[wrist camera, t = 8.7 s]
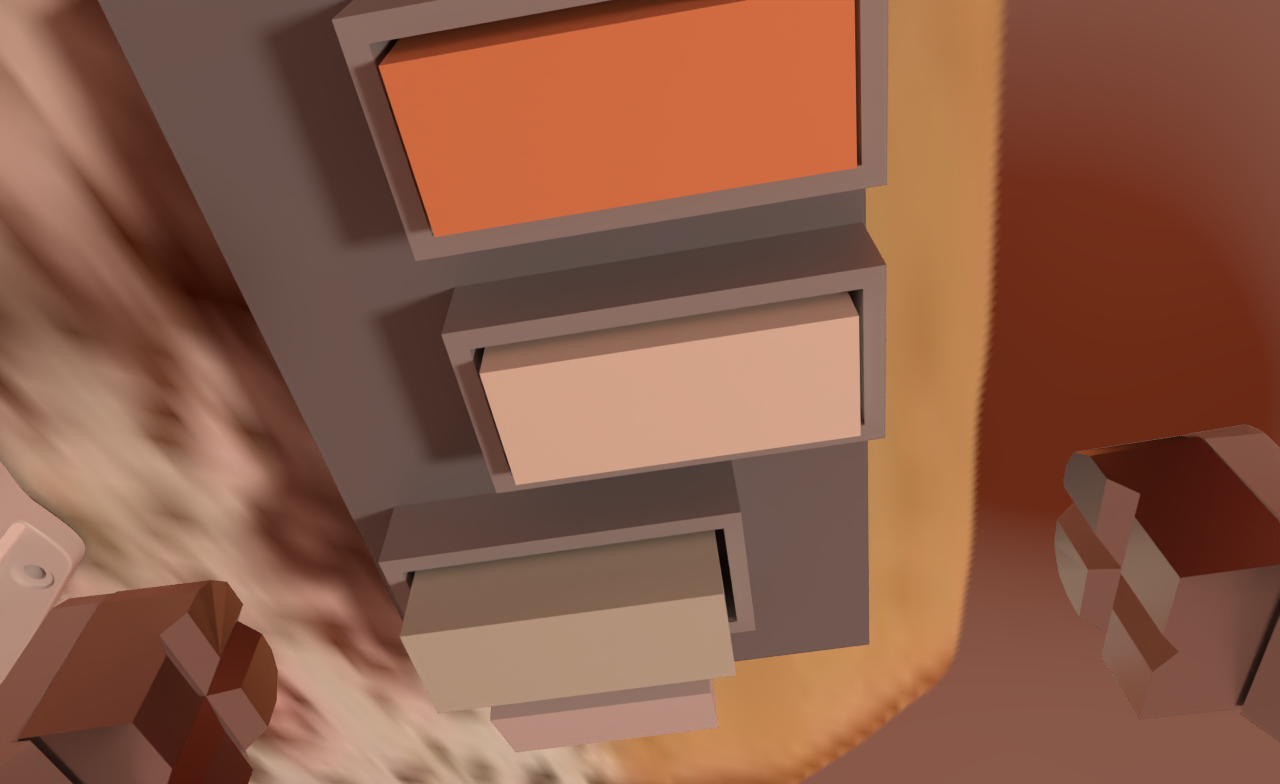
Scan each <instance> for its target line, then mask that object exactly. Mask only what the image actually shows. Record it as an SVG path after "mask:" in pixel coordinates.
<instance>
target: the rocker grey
mask: <svg viewBox="0 0 1280 784" xmlns="http://www.w3.org/2000/svg"><path fill="white" fill-rule="evenodd" d="M490 721H491V722H492V723H493V724H494V726H495V727H496V728H497V729H498V731H499V732H500V733H501V734H502V736H503V737H504V738H505V739H506V741H507V742H508V743H509V744H510V746H511V747H512V748H513V749H514V751H515V752H523V751H531V750H540V749H548V748H556V747H564V746H572V745H581V744H589V743H597V742H605V741H613V740H622V739H630V738H638V737H646V736H654V735H663V734H671V733H679V732H687V731H695V730H704V729H712V728H719V727H718V719H717V711H716V703H715V695H714V687H713V680H712V679H705V680H697V681H689V682H681V683H673V684H665V685H658V686H650V687H642V688H634V689H626V690H618V691H610V692H602V693H594V694H586V695H578V696H570V697H562V698H554V699H546V700H538V701H530V702H523V703H515V704H507V705H499V706H491V718H490Z"/></svg>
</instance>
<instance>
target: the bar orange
mask: <svg viewBox="0 0 1280 784" xmlns="http://www.w3.org/2000/svg"><path fill="white" fill-rule="evenodd" d="M379 69H380V72H381V75H382V78H383V81H384V84H385V87H386V90H387V93H388V96H389V100H390V103H391V106H392V109H393V112H394V115H395V118H396V121H397V124H398V127H399V130H400V133H401V136H402V139H403V142H404V145H405V148H406V151H407V154H408V157H409V160H410V164H411V167H412V170H413V173H414V176H415V179H416V182H417V185H418V188H419V191H420V194H421V197H422V200H423V203H424V206H425V209H426V212H427V215H428V218H429V221H430V225H431V228H432V231H433V234H434V237H439V236H445V235H451V234H458V233H464V232H470V231H476V230H482V229H488V228H494V227H500V226H506V225H512V224H519V223H525V222H531V221H537V220H543V219H549V218H555V217H561V216H567V215H573V214H580V213H586V212H592V211H598V210H604V209H610V208H616V207H622V206H628V205H634V204H641V203H647V202H653V201H659V200H665V199H671V198H677V197H683V196H689V195H695V194H702V193H708V192H714V191H720V190H726V189H732V188H738V187H744V186H750V185H756V184H763V183H769V182H775V181H781V180H787V179H793V178H799V177H805V176H811V175H817V174H823V173H830V172H836V171H842V170H848V169H854V168H857V133H856V62H855V0H609V1H603V2H598V3H592V4H587V5H581V6H575V7H570V8H564V9H559V10H553V11H548V12H542V13H537V14H531V15H526V16H520V17H514V18H509V19H503V20H498V21H492V22H487V23H481V24H476V25H470V26H465V27H459V28H454V29H448V30H442V31H437V32H431V33H426V34H420V35H415V36H409V37H404V38H400V39H399V40H398V41H397V43H396V44H395V45H394V47H393V48H392V49H391V50H390V52H389V53H388V54H387V56H386V57H385V58H384V59H383V61H382V62H381V63H380V65H379Z"/></svg>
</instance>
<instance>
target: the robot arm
mask: <svg viewBox="0 0 1280 784" xmlns="http://www.w3.org/2000/svg"><path fill="white" fill-rule="evenodd" d="M1063 486H1064V487H1065V489H1066V490H1067V492H1068V493H1069V495H1070V496H1071V498H1072V500H1073V501H1074V503H1073V504H1072V505H1071V506H1070V507H1069V508H1068V509H1067V510H1066V511H1065V512H1064V513H1063V514H1062V515H1061V516H1060V517H1059V518H1058V519H1057V527H1056V535H1055V544H1054V546H1055V553H1056V559H1057V565H1058V572H1059V575H1060V578H1061V580H1062V583H1063V586H1064V588H1065V591H1066V594H1067V596H1068V598H1069V599H1070V601H1071V603H1072V605H1073V607H1074V608H1075V610H1076V612H1077V614H1078V615H1079V617H1081V618H1083V619H1084V620H1086V621H1087V622H1089V623H1091V624H1092V625H1094V626H1096V627H1097V628H1099V629H1101V630H1102V631H1104V632H1105V633H1107V635H1106V640H1105V644H1104V649H1103V654H1102V657H1103V659H1104V660H1105V662H1106V664H1107V666H1108V667H1109V669H1110V671H1111V672H1112V674H1113V676H1114V677H1115V679H1116V681H1117V682H1118V684H1119V686H1120V688H1121V689H1122V691H1123V693H1124V694H1125V696H1126V698H1127V699H1128V701H1129V703H1130V705H1131V706H1132V708H1133V710H1134V711H1135V713H1136V715H1137V717H1138V718H1139V719H1147V718H1157V717H1167V716H1176V715H1186V714H1196V713H1206V712H1215V711H1225V710H1235V709H1242V710H1241V713H1240V714H1241V715H1242V716H1243V717H1245V718H1246V719H1248V720H1249V721H1250V722H1252V723H1253V724H1255V725H1256V726H1257V727H1259V728H1260V729H1261V730H1263V731H1264V732H1266V733H1267V734H1268V735H1270V736H1272V737H1273V738H1274V739H1275V740H1277V741H1278V742H1280V448H1279V447H1278V446H1277V445H1276V444H1275V443H1274V442H1273V441H1272V440H1271V439H1270V438H1269V437H1268V436H1267V435H1266V434H1265V433H1264V432H1262V431H1261V430H1258V429H1256V428H1254V427H1251V426H1248V425H1240V426H1234V427H1228V428H1222V429H1216V430H1209V431H1204V432H1197V433H1191V434H1188V435H1186V436H1175V437H1168V438H1162V439H1156V440H1149V441H1143V442H1136V443H1130V444H1123V445H1117V446H1111V447H1105V448H1098V449H1091V450H1086V451H1079V452H1074V454H1073V455H1072V457H1071V458H1070V460H1069V461H1068V463H1067V465H1066V471H1065V476H1064V482H1063ZM84 554H85V545H84V543H83V541H82V539H81V538H80V537H79V536H78V535H77V534H76V533H75V532H74V531H73V530H72V529H71V528H70V527H69V526H67V525H66V524H65V523H64V522H62V521H61V520H60V519H59V518H57V517H56V516H54V515H53V514H52V513H50V512H49V511H48V510H46V509H45V508H43V507H42V506H41V505H39V504H38V503H36V502H35V501H33V500H32V499H31V498H30V497H29V496H28V495H27V494H26V493H25V492H24V491H23V490H22V489H21V488H20V487H19V485H18V484H17V483H16V482H15V480H14V479H13V478H12V476H11V475H10V474H9V472H8V471H7V469H6V468H5V467H4V465H3V464H2V463H1V461H0V784H248V783H249V780H250V777H251V774H252V772H253V768H252V765H251V763H250V760H249V758H248V756H247V753H246V751H245V750H246V749H247V748H248V747H249V746H250V745H251V744H252V743H253V742H254V741H255V740H256V739H257V738H258V737H259V736H260V735H261V734H262V733H263V732H264V731H265V730H266V729H267V728H268V726H269V722H270V719H271V716H272V713H273V710H274V707H275V704H276V701H277V675H278V670H277V667H276V663H275V660H274V656H273V653H272V649H271V648H270V646H269V645H268V643H267V641H266V640H265V638H264V636H263V635H262V634H261V633H260V632H258V631H256V630H254V629H252V628H250V627H248V626H246V625H244V624H242V623H241V622H239V621H238V618H239V615H240V612H241V609H242V606H243V604H242V602H241V601H240V599H239V598H238V597H237V595H236V594H235V592H234V591H233V590H232V588H231V587H230V585H229V584H228V583H227V582H223V581H215V580H208V581H200V582H192V583H183V584H175V585H167V586H159V587H151V588H143V589H135V590H126V591H118V592H116V593H112V594H103V595H95V596H86V597H77V598H69V599H67V600H66V601H64V602H62V603H61V604H59V605H57V606H56V607H55V605H56V603H57V601H58V600H59V598H60V596H61V595H62V593H63V591H64V589H65V588H66V586H67V584H68V583H69V581H70V579H71V577H72V576H73V574H74V572H75V570H76V569H77V567H78V565H79V564H80V562H81V560H82V558H83V556H84Z"/></svg>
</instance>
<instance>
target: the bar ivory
mask: <svg viewBox="0 0 1280 784" xmlns="http://www.w3.org/2000/svg"><path fill="white" fill-rule="evenodd" d="M479 374H480V377H481V380H482V383H483V386H484V389H485V392H486V395H487V398H488V401H489V404H490V407H491V410H492V413H493V417H494V420H495V423H496V426H497V429H498V432H499V435H500V438H501V441H502V444H503V447H504V450H505V453H506V456H507V459H508V462H509V465H510V468H511V471H512V474H513V478H514V481H515V484H516V485H520V484H527V483H534V482H541V481H548V480H555V479H562V478H569V477H576V476H583V475H590V474H597V473H604V472H611V471H618V470H625V469H632V468H639V467H646V466H653V465H660V464H667V463H674V462H681V461H688V460H695V459H702V458H709V457H716V456H723V455H730V454H737V453H744V452H751V451H758V450H765V449H772V448H779V447H786V446H793V445H800V444H807V443H814V442H821V441H828V440H835V439H842V438H849V437H856V436H861V422H860V351H859V315H858V313H857V310H856V308H855V306H854V304H853V302H852V300H851V297H850V295H849V293H848V291H845V292H839V293H832V294H826V295H819V296H813V297H806V298H800V299H793V300H787V301H780V302H774V303H767V304H761V305H754V306H748V307H742V308H735V309H729V310H722V311H716V312H709V313H703V314H696V315H690V316H683V317H677V318H670V319H664V320H657V321H651V322H644V323H638V324H632V325H625V326H619V327H612V328H606V329H599V330H593V331H586V332H580V333H573V334H567V335H560V336H554V337H547V338H541V339H535V340H528V341H522V342H515V343H509V344H502V345H496V346H489V347H485V350H484V354H483V359H482V364H481V369H480V373H479Z"/></svg>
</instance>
